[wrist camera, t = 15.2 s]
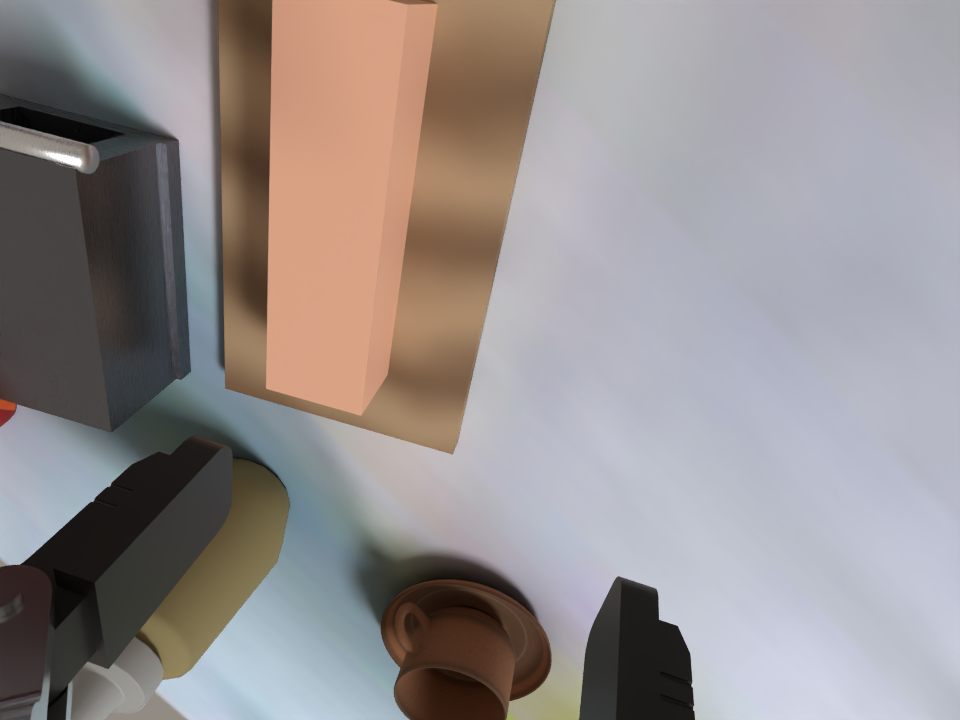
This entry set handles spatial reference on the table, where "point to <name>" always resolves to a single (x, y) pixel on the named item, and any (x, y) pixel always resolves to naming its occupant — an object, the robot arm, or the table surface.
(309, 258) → the block
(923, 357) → the table surface
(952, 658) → the table surface
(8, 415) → the paper cup
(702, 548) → the table surface
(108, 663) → the robot arm
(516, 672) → the cup and saucer
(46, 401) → the dispenser
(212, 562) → the squeeze bottle
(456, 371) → the board
